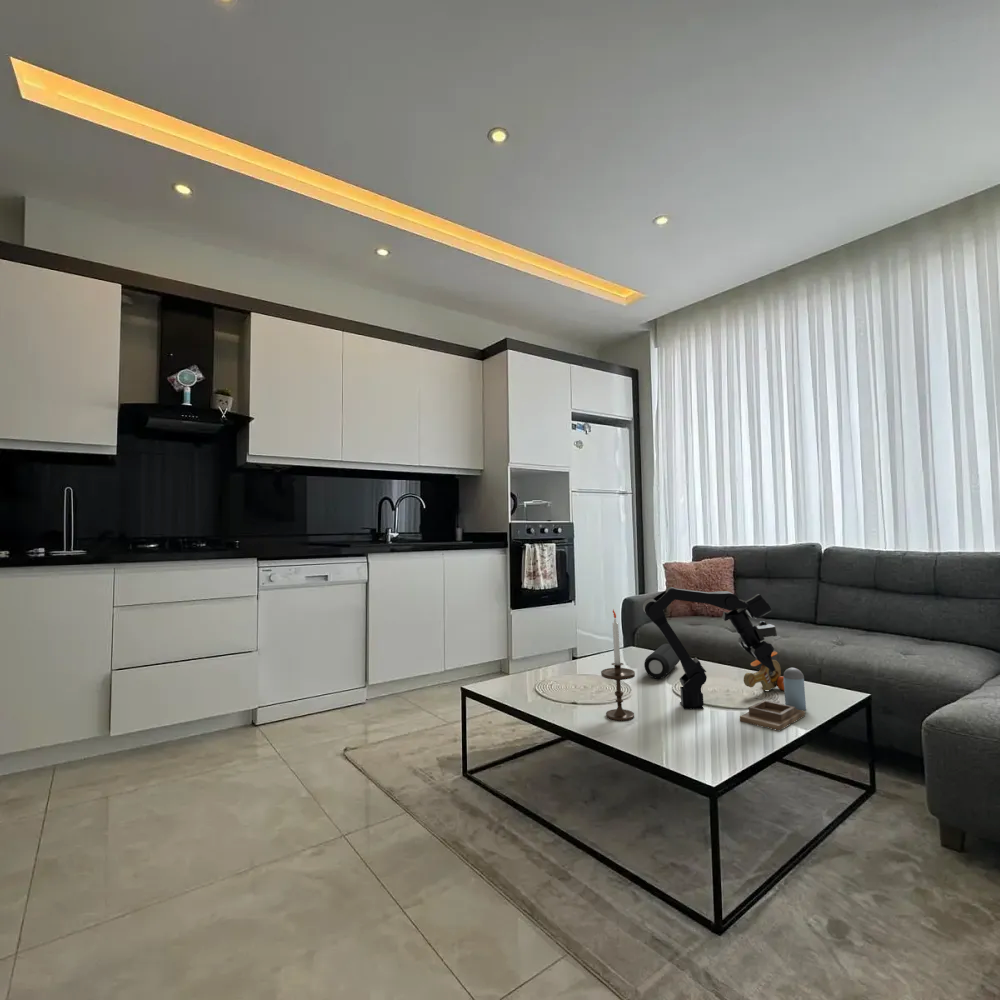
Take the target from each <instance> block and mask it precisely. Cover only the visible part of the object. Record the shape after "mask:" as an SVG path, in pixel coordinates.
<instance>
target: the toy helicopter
mask: <svg viewBox="0 0 1000 1000" xmlns="http://www.w3.org/2000/svg"><path fill="white" fill-rule="evenodd" d="M777 655H778V652H777V651H775V650H774V651H773V652H772V654H771V658H772V657H774V656H777ZM772 661H773V665H774V668H775V670H774V671H771V670H770V669H768V668H767V667H766V666H765V665H764V664H762V663H760V662H759V661H758V660H757V659H755V660H754V661H752V662H750V666H751V667H758V666H759V665H761V666H760V669H759V671H757V672H754V673H753V672H746V673H745V674H744V675H743V683H744V685H745V686H746V687H749V688H754V686H755V685H756V684H758V683H760V684H761V686H762V687H761V688H762V690H763V689H764V690H770V691H771V689H775V688H776V687H777V688H778V690H780V691H784V677H783V675H782V673H781V672H782V671H781V670H782V668H781V665H780V663H779V662H778V661H777V660H776V659H772ZM764 690H763V691H764Z"/></svg>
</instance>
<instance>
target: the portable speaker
mask: <svg viewBox="0 0 1000 1000" xmlns="http://www.w3.org/2000/svg"><path fill="white" fill-rule="evenodd" d="M679 662H680V660H679V658H678V657H677V655H676V653H675V652H674V650H673V649H672V647H671V646H670V644H669V643H663V644H661V645H660V646H659V647H657V649H655V650H654V651H653V652H651V654H649V655H648V656H647V657H646V658H645V659H644V666H643V667H644V670H645V673H646V674H647V675H649V677H650V678H653V679H658V680H659V679H660V680H661V679H663V678H665V677H666V676H667V675H668V674H669V673H670V672H671V671H672V670H673V669H674V668H675V667H676V666H677V665H678V664H679Z"/></svg>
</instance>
